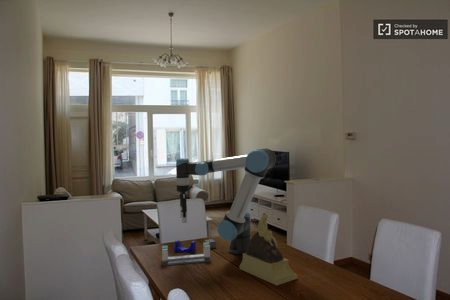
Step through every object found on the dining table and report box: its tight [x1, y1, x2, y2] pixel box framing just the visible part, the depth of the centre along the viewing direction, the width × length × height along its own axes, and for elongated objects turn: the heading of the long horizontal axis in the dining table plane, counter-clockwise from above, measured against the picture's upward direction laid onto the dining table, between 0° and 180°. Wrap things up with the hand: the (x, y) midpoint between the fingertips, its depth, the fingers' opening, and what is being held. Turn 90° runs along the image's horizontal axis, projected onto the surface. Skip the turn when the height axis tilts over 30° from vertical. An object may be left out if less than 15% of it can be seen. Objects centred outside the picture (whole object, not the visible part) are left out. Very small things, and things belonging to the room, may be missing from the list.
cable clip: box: [173, 239, 197, 253], centre depth 231 cm, size 12×4×6 cm, turn 71°
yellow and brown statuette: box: [239, 213, 298, 286], centre depth 189 cm, size 28×13×30 cm, turn 34°
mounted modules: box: [161, 242, 211, 262], centre depth 214 cm, size 26×7×6 cm, turn 99°
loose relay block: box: [204, 238, 217, 249], centre depth 238 cm, size 5×6×4 cm
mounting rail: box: [162, 253, 212, 267], centre depth 214 cm, size 26×12×2 cm, turn 99°
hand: (183, 220), depth 229 cm, fingers open, 13 cm apart
